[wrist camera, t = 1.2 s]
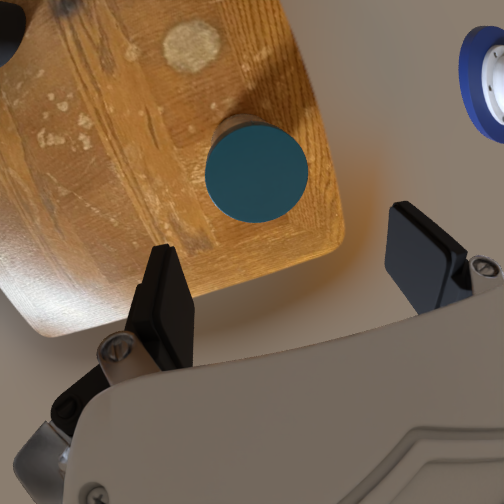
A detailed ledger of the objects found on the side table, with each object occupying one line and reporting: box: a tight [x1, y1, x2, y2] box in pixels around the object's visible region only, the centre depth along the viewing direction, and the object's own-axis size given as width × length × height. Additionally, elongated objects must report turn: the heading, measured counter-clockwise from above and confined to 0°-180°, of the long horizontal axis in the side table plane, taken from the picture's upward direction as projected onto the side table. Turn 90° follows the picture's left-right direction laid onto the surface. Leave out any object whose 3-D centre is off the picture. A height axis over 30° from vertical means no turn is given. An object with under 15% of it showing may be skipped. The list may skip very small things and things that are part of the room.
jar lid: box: [205, 120, 308, 223], centre depth 20 cm, size 7×7×2 cm
